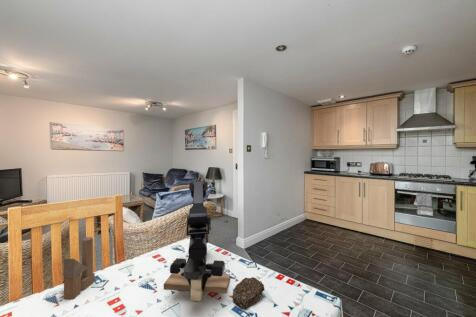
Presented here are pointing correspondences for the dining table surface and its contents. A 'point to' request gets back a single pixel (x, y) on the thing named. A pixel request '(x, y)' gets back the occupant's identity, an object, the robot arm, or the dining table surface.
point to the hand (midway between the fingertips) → (197, 290)
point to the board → (213, 285)
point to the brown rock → (247, 292)
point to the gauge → (196, 289)
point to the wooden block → (79, 271)
